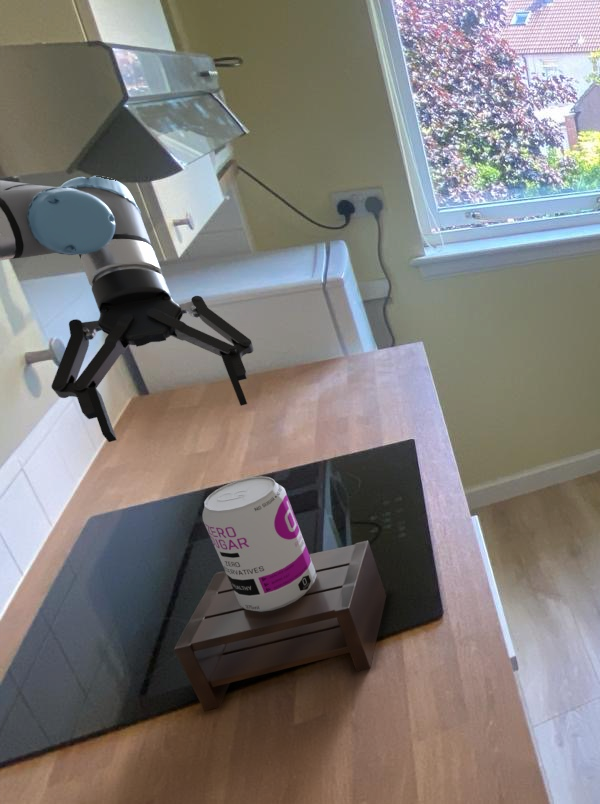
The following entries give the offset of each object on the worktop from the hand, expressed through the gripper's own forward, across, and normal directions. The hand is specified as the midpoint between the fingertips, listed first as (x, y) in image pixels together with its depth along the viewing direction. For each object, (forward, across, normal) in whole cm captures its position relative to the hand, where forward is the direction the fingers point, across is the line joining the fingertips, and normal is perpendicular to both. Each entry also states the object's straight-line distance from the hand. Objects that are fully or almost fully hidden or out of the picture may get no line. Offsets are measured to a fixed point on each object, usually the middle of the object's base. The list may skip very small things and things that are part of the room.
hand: (179, 418), depth 94 cm
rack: (+32, -3, -10) cm, 34 cm away
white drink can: (+26, -3, -2) cm, 26 cm away
